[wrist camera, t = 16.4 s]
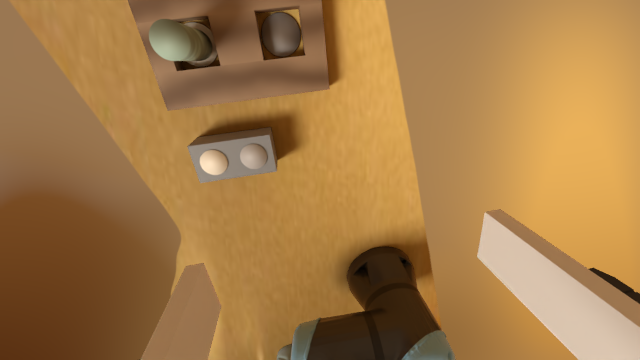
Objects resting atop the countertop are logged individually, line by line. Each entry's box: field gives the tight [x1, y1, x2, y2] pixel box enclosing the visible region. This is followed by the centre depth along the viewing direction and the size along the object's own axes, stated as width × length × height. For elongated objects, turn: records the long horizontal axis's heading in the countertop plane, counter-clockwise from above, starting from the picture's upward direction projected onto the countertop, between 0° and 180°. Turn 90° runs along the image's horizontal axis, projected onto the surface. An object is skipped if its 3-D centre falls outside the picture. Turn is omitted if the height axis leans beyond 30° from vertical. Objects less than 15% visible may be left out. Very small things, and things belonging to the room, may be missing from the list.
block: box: [187, 127, 277, 183], centre depth 42 cm, size 6×12×5 cm, turn 96°
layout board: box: [128, 0, 329, 111], centre depth 36 cm, size 16×24×2 cm, turn 96°
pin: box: [149, 19, 212, 61], centre depth 32 cm, size 4×4×10 cm
